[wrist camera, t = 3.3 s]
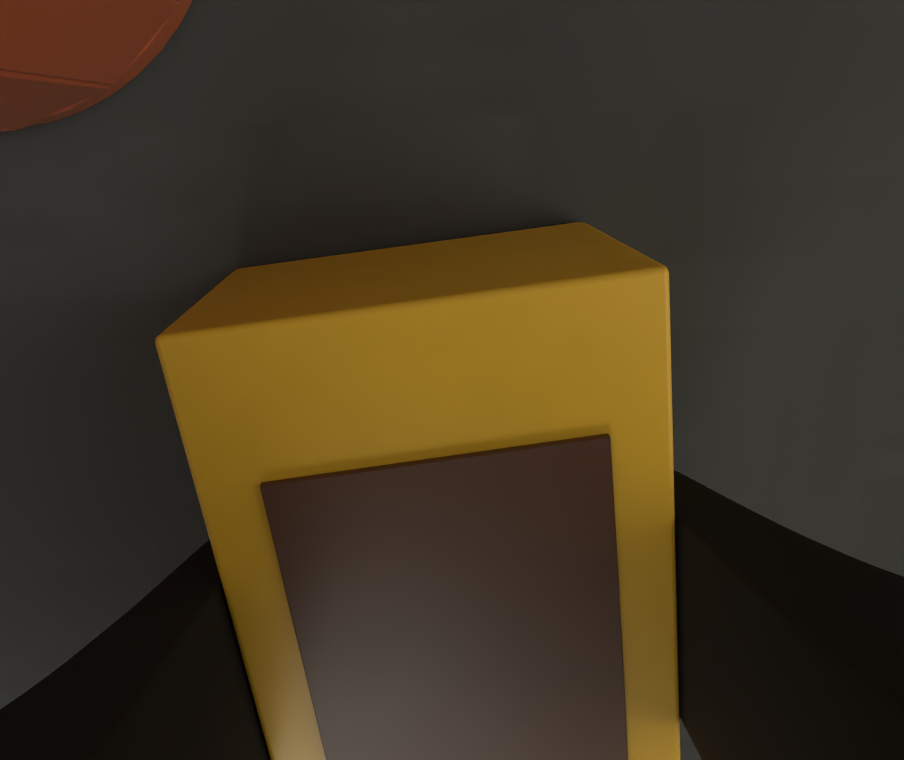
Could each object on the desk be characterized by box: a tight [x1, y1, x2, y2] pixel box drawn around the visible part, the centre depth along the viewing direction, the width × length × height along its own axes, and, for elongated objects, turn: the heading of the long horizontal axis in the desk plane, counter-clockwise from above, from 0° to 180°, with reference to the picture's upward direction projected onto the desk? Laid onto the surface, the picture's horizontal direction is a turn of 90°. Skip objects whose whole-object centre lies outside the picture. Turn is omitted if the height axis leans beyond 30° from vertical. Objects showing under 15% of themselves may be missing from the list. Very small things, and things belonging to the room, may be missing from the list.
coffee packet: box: [155, 222, 680, 760], centre depth 10 cm, size 8×5×4 cm, turn 7°
